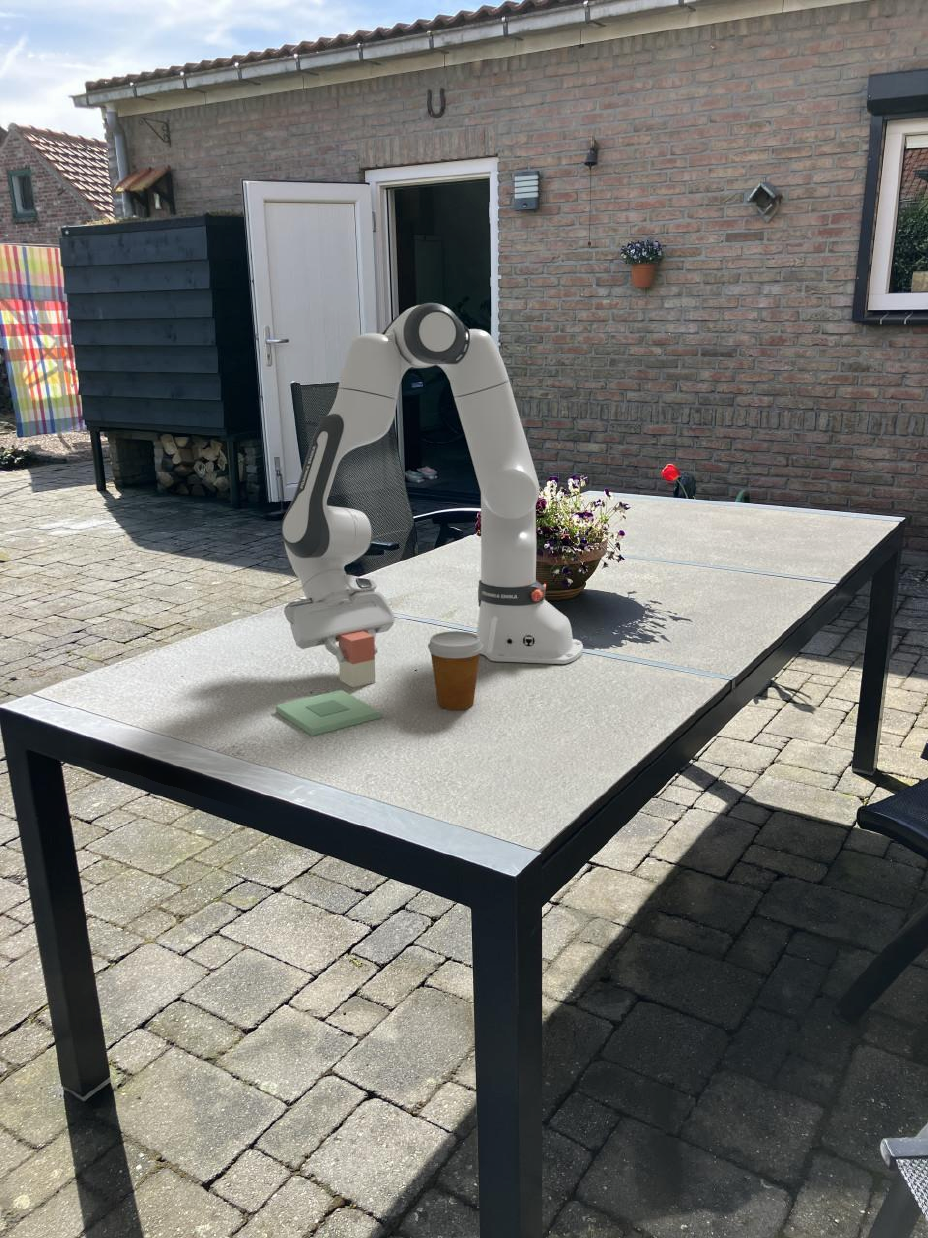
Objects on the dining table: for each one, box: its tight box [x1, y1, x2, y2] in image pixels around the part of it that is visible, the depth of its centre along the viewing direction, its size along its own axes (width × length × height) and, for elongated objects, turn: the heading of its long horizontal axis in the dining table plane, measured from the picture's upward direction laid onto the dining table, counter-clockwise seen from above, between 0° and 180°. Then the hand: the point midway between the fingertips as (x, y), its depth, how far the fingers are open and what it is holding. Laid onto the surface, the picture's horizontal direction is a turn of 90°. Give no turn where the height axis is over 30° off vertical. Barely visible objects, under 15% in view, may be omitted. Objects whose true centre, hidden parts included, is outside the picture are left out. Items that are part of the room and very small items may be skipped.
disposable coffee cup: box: [427, 630, 483, 711], centre depth 179 cm, size 10×10×12 cm
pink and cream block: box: [338, 631, 376, 689], centre depth 190 cm, size 5×5×9 cm
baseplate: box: [275, 689, 381, 737], centre depth 175 cm, size 13×13×1 cm
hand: (358, 657), depth 189 cm, fingers closed on pink and cream block, 5 cm apart
